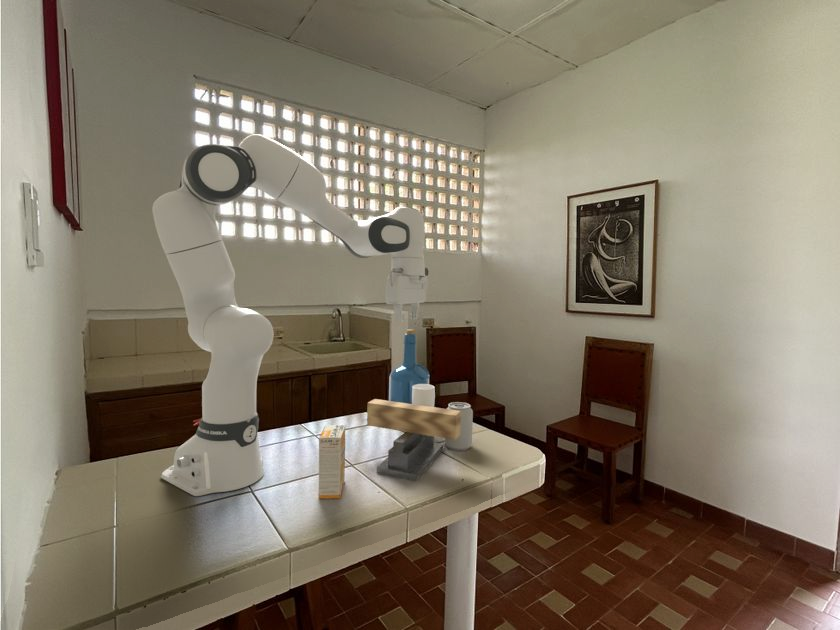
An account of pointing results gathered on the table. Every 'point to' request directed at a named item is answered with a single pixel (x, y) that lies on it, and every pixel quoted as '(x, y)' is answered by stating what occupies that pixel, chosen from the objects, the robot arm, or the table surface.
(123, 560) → the table surface
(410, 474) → the ridge
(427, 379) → the blue rounded container
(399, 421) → the wooden block
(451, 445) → the can
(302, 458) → the table surface
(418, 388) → the cream cylinder
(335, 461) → the supplement box
